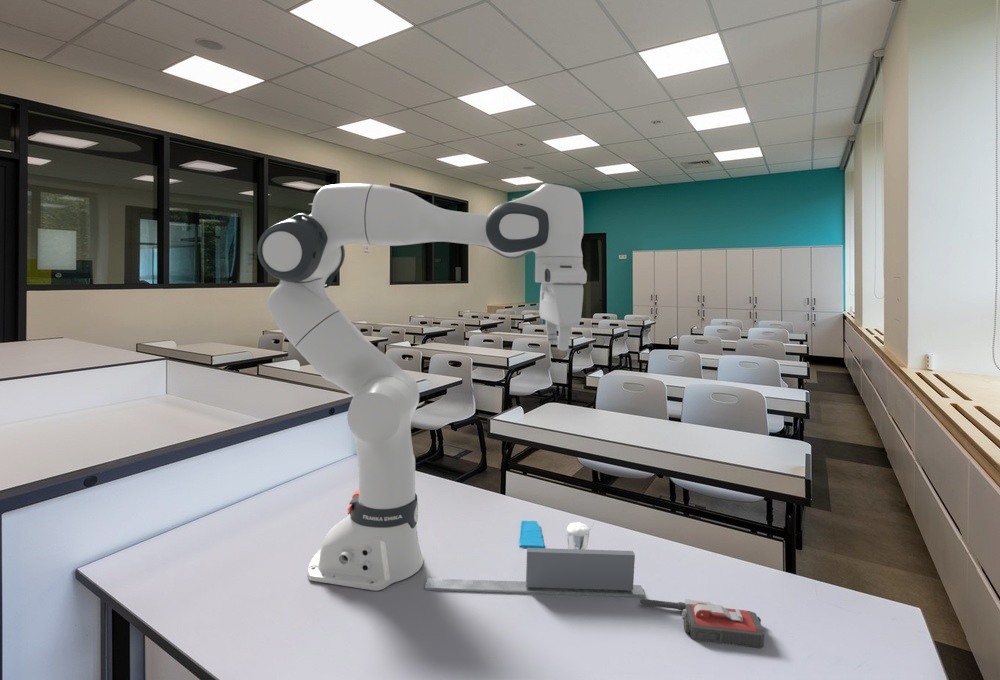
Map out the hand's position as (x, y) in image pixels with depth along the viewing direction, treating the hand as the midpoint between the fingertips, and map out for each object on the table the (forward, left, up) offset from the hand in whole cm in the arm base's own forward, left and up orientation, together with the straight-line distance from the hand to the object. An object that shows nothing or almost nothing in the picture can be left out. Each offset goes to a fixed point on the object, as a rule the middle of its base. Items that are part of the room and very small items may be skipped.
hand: (557, 346), depth 100 cm
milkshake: (+6, +2, -46) cm, 46 cm away
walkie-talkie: (+25, -15, -46) cm, 55 cm away
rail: (-3, -6, -46) cm, 46 cm away
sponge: (-3, +15, -46) cm, 49 cm away
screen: (+5, -6, -46) cm, 46 cm away
